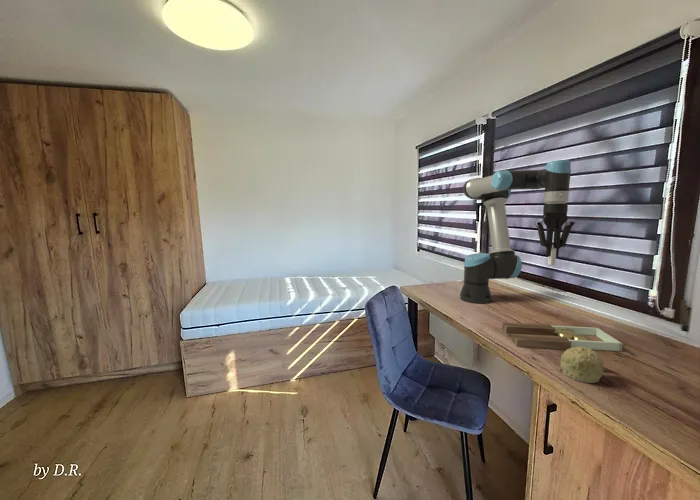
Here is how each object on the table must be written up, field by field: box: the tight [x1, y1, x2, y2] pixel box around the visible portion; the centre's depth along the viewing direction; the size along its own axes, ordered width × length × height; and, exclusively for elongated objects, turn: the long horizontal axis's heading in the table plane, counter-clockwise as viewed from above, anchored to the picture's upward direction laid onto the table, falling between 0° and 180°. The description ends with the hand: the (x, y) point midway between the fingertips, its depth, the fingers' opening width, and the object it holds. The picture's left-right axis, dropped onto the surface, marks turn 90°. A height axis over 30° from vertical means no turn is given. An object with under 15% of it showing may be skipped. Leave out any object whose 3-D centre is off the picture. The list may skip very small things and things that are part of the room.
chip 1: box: [561, 329, 576, 335], centre depth 105 cm, size 4×4×2 cm
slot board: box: [501, 321, 571, 351], centre depth 104 cm, size 15×16×4 cm
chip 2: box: [557, 331, 573, 340], centre depth 102 cm, size 4×4×2 cm
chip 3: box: [572, 334, 588, 341], centre depth 100 cm, size 4×4×2 cm
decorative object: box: [560, 346, 604, 384], centre depth 83 cm, size 9×10×10 cm
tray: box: [551, 325, 623, 352], centre depth 101 cm, size 13×15×4 cm
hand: (551, 264), depth 114 cm, fingers closed
